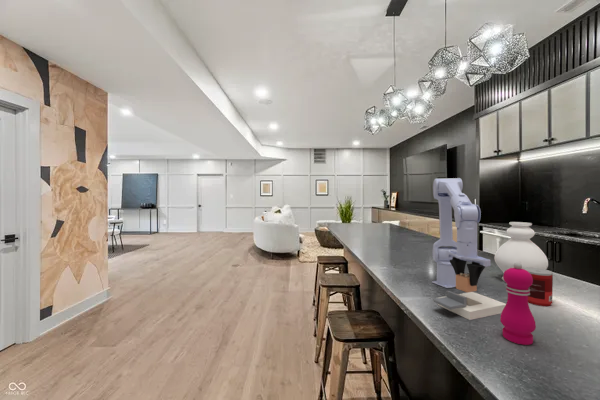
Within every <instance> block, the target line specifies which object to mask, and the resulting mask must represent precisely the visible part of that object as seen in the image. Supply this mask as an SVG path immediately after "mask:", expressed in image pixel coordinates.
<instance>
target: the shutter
mask: <svg viewBox="0 0 600 400" xmlns="http://www.w3.org/2000/svg"><path fill="white" fill-rule="evenodd" d="M459 294H460V293H456V292H454V291H451V290H446V296H447V297H445V296H442V297H443V298H439V297H437V298H433V300H432V301H433V303H435V304H437V305H438V304H439V305H442V306H444V307H446V308H448V309H450V310H451V309H456V308H461V307H466V306H467V297H464V296H462V295H459ZM439 305H438V306H439Z"/></svg>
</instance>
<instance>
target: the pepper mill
mask: <svg viewBox="0 0 600 400" xmlns="http://www.w3.org/2000/svg"><path fill="white" fill-rule="evenodd" d="M521 268H522V264H521V263H519V262H516V263H514V268H509V269H507V270H506V271H505V272H504V273H503V275H502V277H503V278H504V281H503V282H505V284H506V285H505V291H506V293H507V300H506V303H505V304H506V305H505V307H504V309H503V311H502V313H500V319H499V320H500V324H502V325H503V328H502V336H503V338H505V340H506V341H507V340H508V341H509V342H512V343H514V344H518V345H523V346H530V345H532V344H533V343H534V335H533V332H534V331H536V328H537V327H536V326H537V325H536V321H535V320H536V319H535V317H534V315H533V313H532V311H531V309H530V305H529V303H528V295H530V289H529V287H530V286H531V285H532V283H533V278H532V275H531V274H530V273H529V272H528V271H526V270H524V269H521Z"/></svg>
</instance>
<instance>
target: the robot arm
mask: <svg viewBox="0 0 600 400" xmlns="http://www.w3.org/2000/svg"><path fill="white" fill-rule="evenodd" d="M432 183H433V184H432V194H433V195H432V196H433V199H434V200H437V203H438V211H439V213H438V215H439V239H438V240H436V241H435V242H434V243H432V251H431V252H432V261H434V262H436V280H433V281H431V283H433V284H435V285H438V286H440V287H442V288H445V289H450V288H456V275H458V274H460V273H463V274H465V269H466V267H467V270H468V273H469V276H470V285H471V286H476V285H477V286H478V282H479V280H480V277H481V274H482V273H483V271H484V269H485V268H487V267H491V262H492V261H491V259H489V258H485V257H482V256H480V255H478V224H479V222H480V221H481V217H482V216H481V215H482V214H481V213H482V211H481V208H480V205H478V204H476V203H472V201H471V200H470V198H469V197H468V195H467V194H465V193H464V192H462V191H463V188H464V184H463V180H462V178H460V177H457V178H456V177H455V178H454V177H453V178H448V177H447V178H434V180H433V182H432ZM452 209H453V211H454V213H452ZM453 214H454V222H455V228H456V241H455V240H454V239H453V237H454V236H453V234H454V233H453ZM467 262H469V263H467Z"/></svg>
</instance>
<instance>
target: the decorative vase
mask: <svg viewBox="0 0 600 400" xmlns="http://www.w3.org/2000/svg"><path fill="white" fill-rule="evenodd" d="M508 224H509V225H510V227H508V228H507V229H506V235H508V237H510V238H508V240H506V241H505V242H503V244H501V245H500V246H499V247H498V249H497V250H496V252H494V253H495V254H494V262H495V264H496V265H497V267H498V268H499V269H500V271H501V272H502V273H503V274H504V272H505V271H506V270H507V269H509V268H514V263H516V262H519V263H521V264H522V268H521V269H524V268H540V269H545V270H548V267H549V260H548V257H547V255H546V254H545V253H544V251H543V250H542V249H541V248H540V247H539V246H538V245H537V244H536V243H535V242H533V241H532V240H531V239H532V238H533V237H535V234H536V231H535V230H534V229H532V228H531V226H532V225H533V223H532V222H523V221H510V222H509V223H508ZM501 280H502V281H503V282H505V281H504V278H503V276H502V277H501Z"/></svg>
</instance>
